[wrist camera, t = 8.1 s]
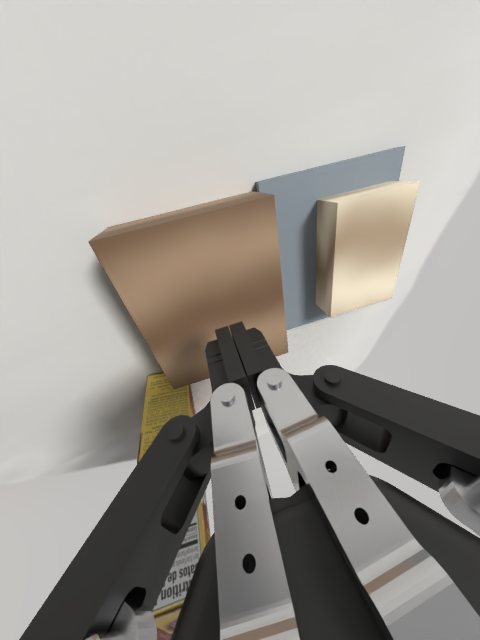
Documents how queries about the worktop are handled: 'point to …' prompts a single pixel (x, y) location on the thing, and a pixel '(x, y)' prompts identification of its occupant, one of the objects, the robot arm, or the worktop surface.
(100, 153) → the worktop surface
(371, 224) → the tile
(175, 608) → the candy box
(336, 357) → the worktop surface
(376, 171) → the mat
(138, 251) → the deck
